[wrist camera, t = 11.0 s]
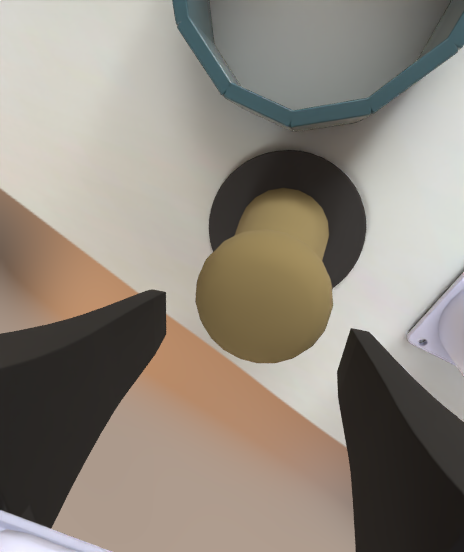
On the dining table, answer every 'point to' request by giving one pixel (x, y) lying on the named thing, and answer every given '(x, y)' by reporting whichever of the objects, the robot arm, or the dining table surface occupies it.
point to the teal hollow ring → (440, 47)
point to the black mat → (308, 179)
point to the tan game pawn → (269, 280)
